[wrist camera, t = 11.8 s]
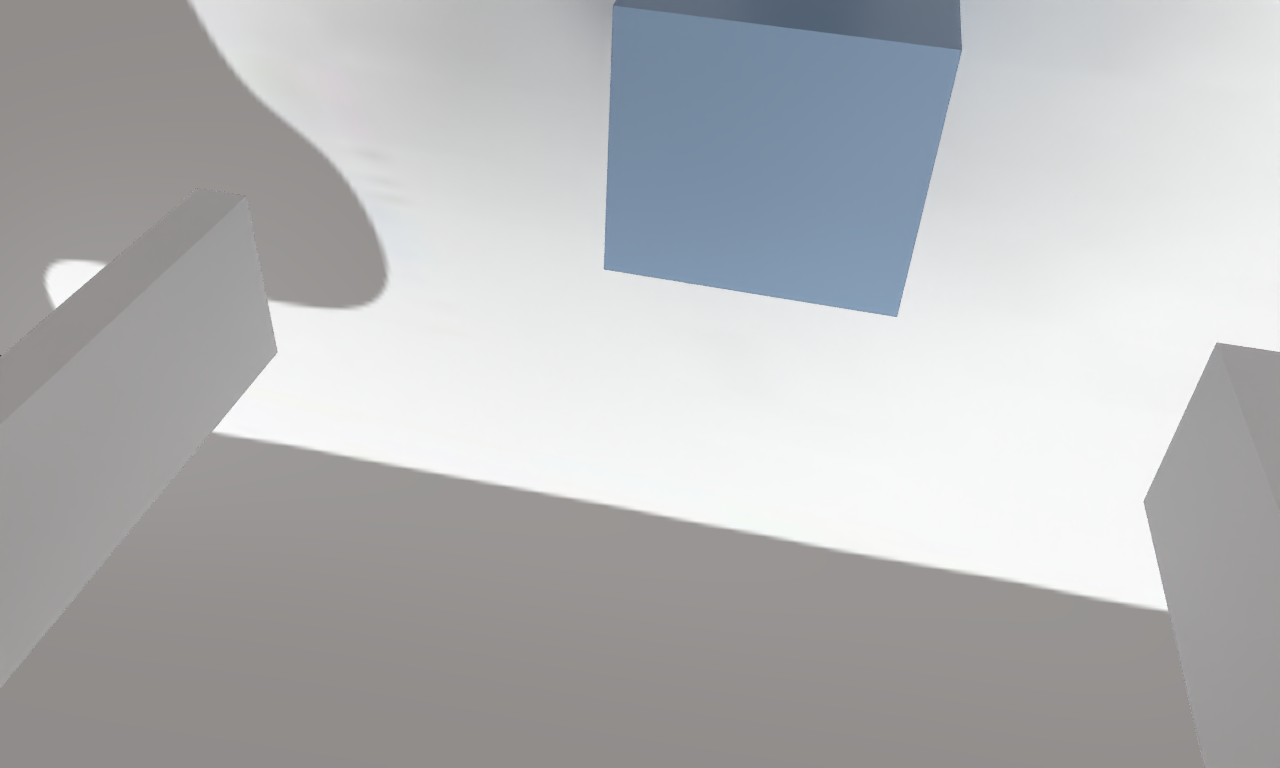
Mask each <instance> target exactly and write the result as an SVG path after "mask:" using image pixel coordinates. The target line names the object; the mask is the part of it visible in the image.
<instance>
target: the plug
mask: <svg viewBox="0 0 1280 768" xmlns="http://www.w3.org/2000/svg"><path fill="white" fill-rule="evenodd" d="M961 51H962V45H961V20H960V0H617V1H616V2H615V4H614V5H613V27H612V55H611V84H610V112H609V140H608V169H607V197H606V226H605V254H604V269H605V270H611V271H617V272H623V273H630V274H636V275H642V276H648V277H654V278H660V279H666V280H673V281H679V282H685V283H691V284H697V285H703V286H709V287H716V288H722V289H728V290H734V291H740V292H746V293H753V294H759V295H765V296H771V297H777V298H783V299H789V300H796V301H802V302H808V303H814V304H820V305H826V306H832V307H839V308H845V309H851V310H857V311H863V312H869V313H876V314H882V315H888V316H894V317H897V315H898V311H899V307H900V302H901V298H902V294H903V290H904V286H905V282H906V278H907V274H908V270H909V265H910V261H911V257H912V253H913V249H914V245H915V241H916V237H917V232H918V228H919V224H920V220H921V216H922V212H923V208H924V204H925V199H926V195H927V191H928V187H929V183H930V179H931V175H932V171H933V166H934V162H935V158H936V154H937V150H938V146H939V142H940V138H941V133H942V129H943V125H944V121H945V117H946V113H947V109H948V105H949V101H950V96H951V92H952V88H953V84H954V80H955V76H956V72H957V68H958V63H959V59H960V55H961Z"/></svg>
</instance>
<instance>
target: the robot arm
mask: <svg viewBox="0 0 1280 768" xmlns="http://www.w3.org/2000/svg"><path fill="white" fill-rule="evenodd" d="M276 353H277V347H276V342H275V337H274V332H273V327H272V322H271V317H270V312H269V306H268V301H267V296H266V292H265V286H264V281H263V276H262V271H261V266H260V261H259V256H258V251H257V245H256V240H255V235H254V230H253V225H252V220H251V215H250V210H249V204H248V200H247V196H245V195H239V194H233V193H226V192H220V191H213V190H206V189H200V188H197V189H195V190H194V191H193V192H192V193H191V194H190V195H188V196H187V197H186V198H185V199H184V200H183V201H181V202H180V203H179V204H178V205H177V206H176V207H174V208H173V209H172V210H171V211H170V212H169V213H168V214H166V215H165V216H164V217H163V218H162V219H161V220H159V221H158V222H157V223H156V224H155V225H153V226H152V227H151V228H150V229H149V230H148V231H146V232H145V233H144V234H143V235H142V236H141V237H139V238H138V239H137V240H136V241H135V242H134V243H132V244H131V245H130V246H129V247H128V248H127V249H126V250H124V251H123V252H122V253H121V254H120V255H118V256H117V257H116V258H115V259H114V260H113V261H111V262H110V263H109V264H108V265H107V266H105V267H104V268H103V269H102V270H101V271H100V272H98V273H97V274H96V275H95V276H94V277H93V278H91V279H90V280H89V281H88V282H87V283H86V284H84V285H83V286H82V287H81V288H80V289H79V290H77V291H76V292H75V293H74V294H73V295H72V296H70V297H69V298H68V299H67V300H66V301H65V302H63V303H62V304H61V305H60V306H59V307H58V308H56V309H55V310H54V311H53V312H52V313H51V314H49V315H48V316H47V317H46V318H45V319H44V320H42V321H41V322H40V323H39V324H38V325H37V326H35V328H33V329H32V330H31V331H30V332H28V333H27V334H26V335H25V336H24V337H23V338H22V339H20V340H19V341H18V342H17V343H16V344H15V345H13V346H12V347H11V348H10V349H9V350H7V352H5V353H4V354H3V355H0V688H1V687H2V686H3V685H4V683H5V682H6V681H7V680H8V679H9V677H10V676H11V675H12V674H13V672H14V671H15V670H16V669H17V668H18V666H19V665H20V664H21V663H22V662H23V660H24V659H25V658H26V657H27V656H28V654H29V653H30V652H31V651H32V649H33V648H34V647H35V646H36V645H37V643H38V642H39V641H40V640H41V638H42V637H43V636H44V635H45V634H46V632H47V631H48V630H49V629H50V628H51V626H52V625H53V624H54V623H55V621H56V620H57V619H58V618H59V617H60V615H61V614H62V613H63V612H64V611H65V609H66V608H67V607H68V606H69V605H70V603H71V602H72V601H73V600H74V599H75V597H76V596H77V595H78V594H79V592H80V591H81V590H82V589H83V588H84V586H85V585H86V584H87V582H89V580H90V579H91V578H92V577H93V575H94V574H95V573H96V572H97V570H98V569H99V568H100V567H101V566H102V564H103V563H104V562H105V561H106V560H107V558H108V557H109V556H110V554H112V552H113V551H114V550H115V549H116V547H117V546H118V545H119V544H120V543H121V541H122V540H123V539H124V538H125V536H126V535H127V534H128V533H129V532H130V531H131V529H132V528H133V527H134V526H135V524H136V523H137V522H138V521H139V520H140V518H141V517H142V516H143V515H144V513H145V512H146V511H147V510H148V509H149V507H150V506H151V505H152V504H153V503H154V501H155V500H156V499H157V498H158V497H159V495H160V494H161V493H162V492H163V491H164V489H165V488H166V487H167V486H168V484H169V483H170V482H171V481H172V479H173V478H174V477H175V476H176V475H177V473H178V472H179V471H180V470H181V469H182V467H183V466H184V465H185V464H186V463H187V461H188V460H189V459H190V458H191V457H192V455H193V454H194V453H195V452H196V450H197V449H198V448H199V447H200V446H201V444H202V443H203V442H204V441H205V440H206V438H207V437H208V436H209V435H210V433H211V432H212V431H213V430H214V429H215V427H216V426H217V425H218V424H219V423H220V421H221V420H222V419H223V418H224V416H225V415H226V414H227V413H228V412H229V410H230V409H231V408H232V407H233V406H234V404H235V403H236V402H237V401H238V400H239V398H240V397H241V396H242V395H243V393H244V392H245V391H246V390H247V389H248V387H249V386H250V385H251V384H252V383H253V381H254V380H255V379H256V378H257V376H258V375H259V374H260V373H261V372H262V370H263V369H264V368H265V367H266V366H267V364H268V363H269V362H270V361H271V359H272V358H273V357H274V356H275V355H276ZM1144 505H1145V510H1146V514H1147V518H1148V523H1149V527H1150V531H1151V536H1152V540H1153V545H1154V549H1155V553H1156V558H1157V562H1158V567H1159V571H1160V575H1161V580H1162V584H1163V589H1164V593H1165V597H1166V602H1167V606H1168V610H1169V615H1170V619H1171V624H1172V628H1173V632H1174V637H1175V641H1176V646H1177V650H1178V654H1179V658H1180V663H1181V668H1182V672H1183V676H1184V681H1185V685H1186V689H1187V694H1188V698H1189V702H1190V707H1191V711H1192V716H1193V720H1194V725H1195V729H1196V733H1197V738H1198V742H1199V747H1200V751H1201V755H1202V760H1203V764H1204V768H1280V352H1275V351H1269V350H1262V349H1256V348H1249V347H1242V346H1236V345H1229V344H1223V343H1216V345H1215V347H1214V349H1213V352H1212V354H1211V356H1210V358H1209V360H1208V363H1207V365H1206V367H1205V369H1204V371H1203V373H1202V376H1201V378H1200V380H1199V382H1198V384H1197V386H1196V389H1195V391H1194V393H1193V395H1192V397H1191V399H1190V402H1189V404H1188V406H1187V408H1186V410H1185V413H1184V415H1183V417H1182V419H1181V421H1180V423H1179V426H1178V428H1177V430H1176V432H1175V434H1174V436H1173V439H1172V441H1171V443H1170V445H1169V447H1168V449H1167V452H1166V454H1165V456H1164V458H1163V460H1162V462H1161V465H1160V467H1159V469H1158V471H1157V473H1156V476H1155V478H1154V480H1153V482H1152V484H1151V486H1150V489H1149V491H1148V493H1147V495H1146V497H1145V499H1144Z"/></svg>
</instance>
